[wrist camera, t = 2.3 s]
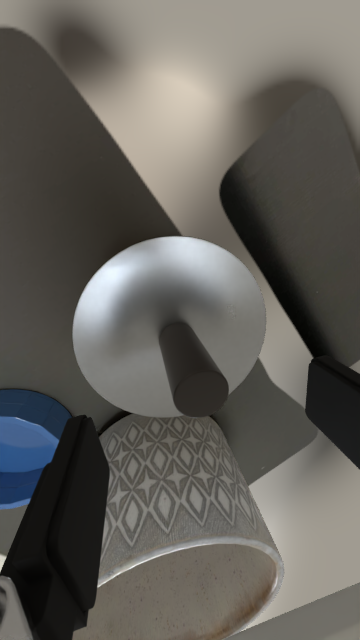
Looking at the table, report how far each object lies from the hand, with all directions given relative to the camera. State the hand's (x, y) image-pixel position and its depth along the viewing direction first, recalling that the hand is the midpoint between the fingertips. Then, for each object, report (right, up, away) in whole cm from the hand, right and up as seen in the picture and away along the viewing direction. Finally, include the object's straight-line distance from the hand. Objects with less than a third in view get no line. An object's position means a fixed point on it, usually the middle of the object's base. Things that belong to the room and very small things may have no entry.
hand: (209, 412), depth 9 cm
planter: (-4, -15, +22) cm, 26 cm away
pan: (-20, -9, +16) cm, 27 cm away
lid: (-1, +3, +7) cm, 7 cm away
